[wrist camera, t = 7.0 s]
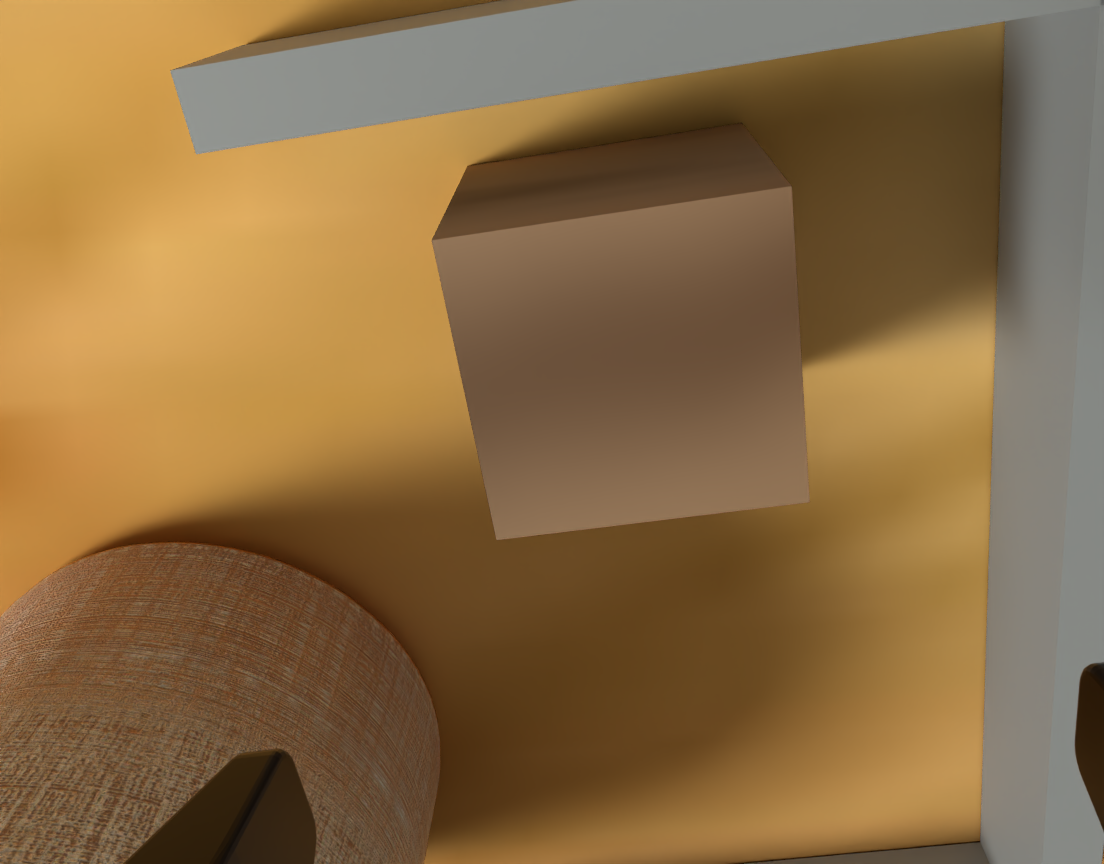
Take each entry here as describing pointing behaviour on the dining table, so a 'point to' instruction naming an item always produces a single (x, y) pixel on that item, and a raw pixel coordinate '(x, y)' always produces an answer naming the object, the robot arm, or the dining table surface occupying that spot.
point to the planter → (204, 704)
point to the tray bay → (1021, 310)
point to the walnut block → (628, 331)
